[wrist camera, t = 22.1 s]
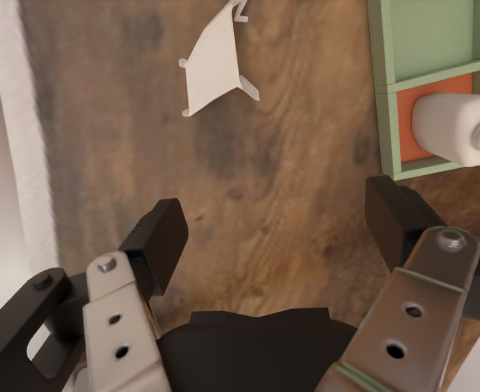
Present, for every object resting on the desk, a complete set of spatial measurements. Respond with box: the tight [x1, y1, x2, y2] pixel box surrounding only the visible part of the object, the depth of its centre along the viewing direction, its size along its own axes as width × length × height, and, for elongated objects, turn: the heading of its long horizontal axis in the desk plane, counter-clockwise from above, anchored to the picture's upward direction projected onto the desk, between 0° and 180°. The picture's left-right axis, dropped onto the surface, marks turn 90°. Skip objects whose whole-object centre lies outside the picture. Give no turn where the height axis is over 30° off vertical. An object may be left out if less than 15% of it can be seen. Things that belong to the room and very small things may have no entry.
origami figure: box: [179, 0, 260, 117], centre depth 27 cm, size 12×8×5 cm
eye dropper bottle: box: [412, 93, 480, 167], centre depth 24 cm, size 4×6×12 cm
